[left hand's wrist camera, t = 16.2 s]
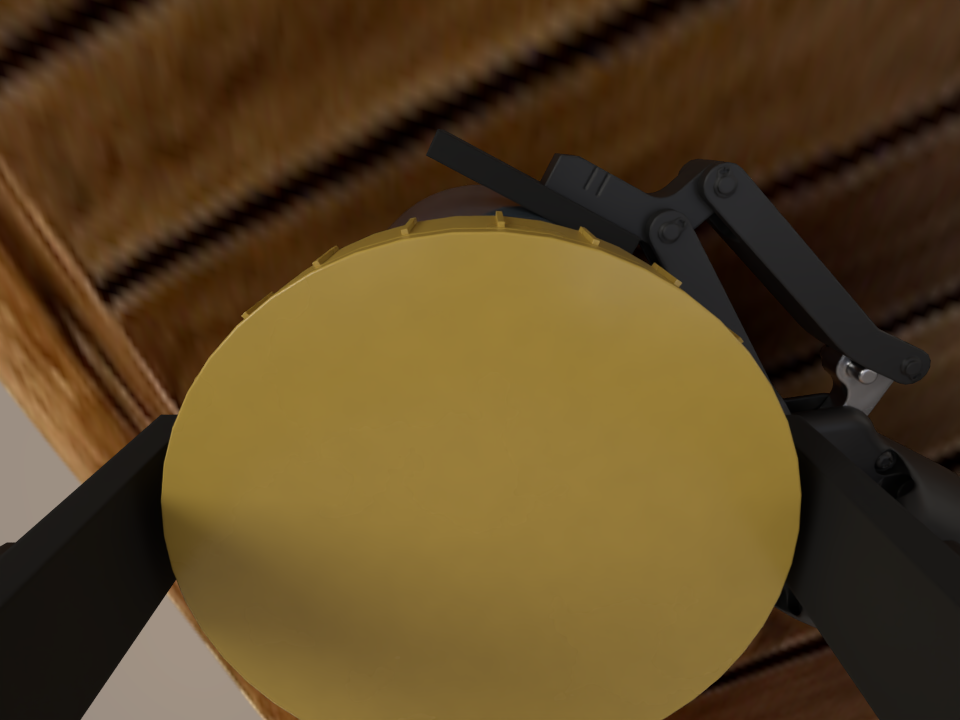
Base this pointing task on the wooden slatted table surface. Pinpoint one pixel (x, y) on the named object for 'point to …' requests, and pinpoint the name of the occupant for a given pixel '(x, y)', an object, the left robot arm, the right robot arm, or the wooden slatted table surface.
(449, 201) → the jar
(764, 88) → the wooden slatted table surface
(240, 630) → the lid
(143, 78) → the wooden slatted table surface
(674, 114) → the wooden slatted table surface
